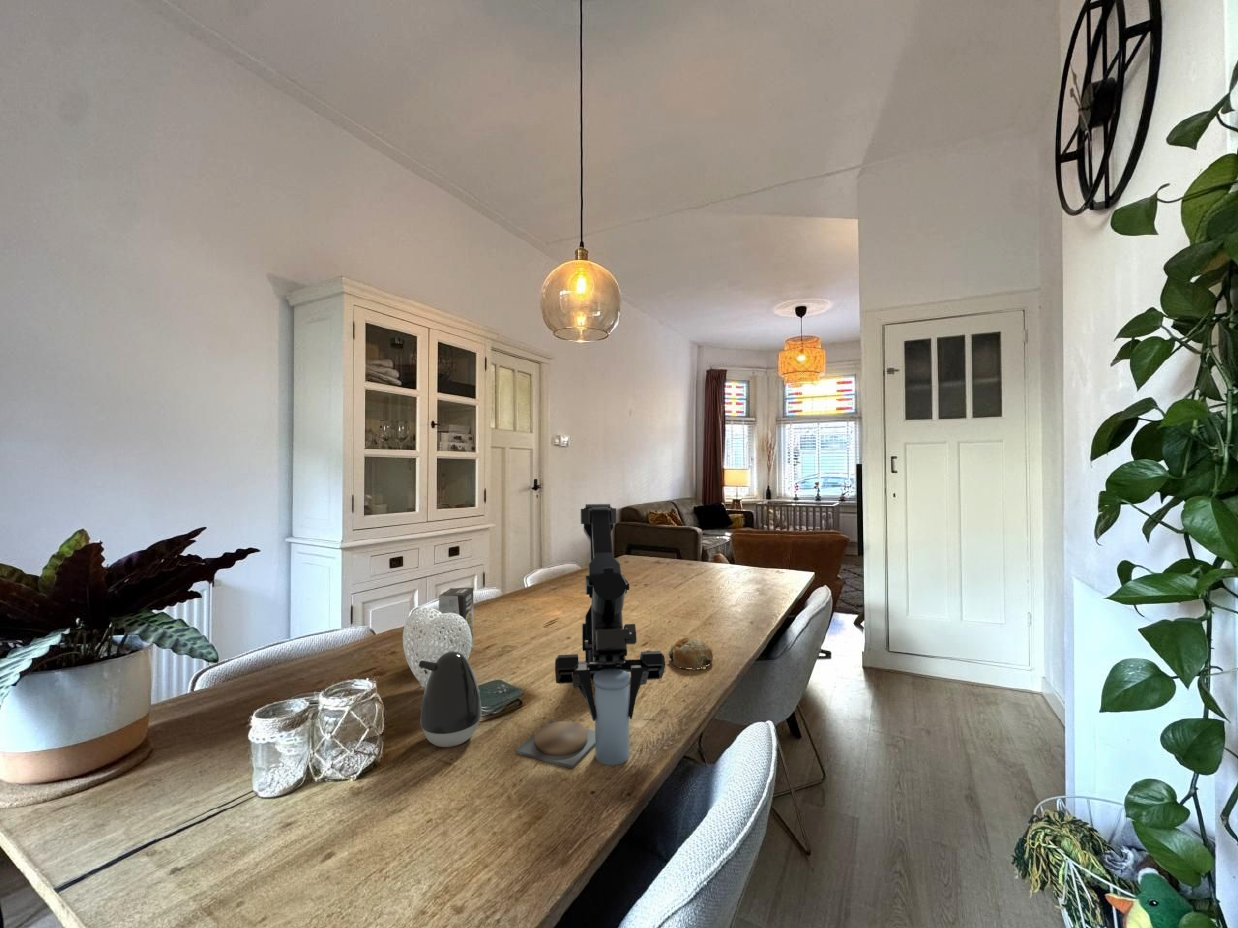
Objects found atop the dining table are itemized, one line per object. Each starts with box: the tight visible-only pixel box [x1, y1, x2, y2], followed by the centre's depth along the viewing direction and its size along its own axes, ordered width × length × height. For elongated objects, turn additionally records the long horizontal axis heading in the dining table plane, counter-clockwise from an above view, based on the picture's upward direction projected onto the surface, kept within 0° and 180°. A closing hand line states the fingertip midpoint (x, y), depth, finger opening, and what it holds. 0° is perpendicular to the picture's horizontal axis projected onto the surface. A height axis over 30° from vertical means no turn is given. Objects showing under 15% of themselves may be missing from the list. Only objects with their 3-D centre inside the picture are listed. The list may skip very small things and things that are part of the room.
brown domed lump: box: [668, 636, 714, 669], centre depth 124 cm, size 10×10×8 cm
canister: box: [593, 669, 631, 766], centre depth 84 cm, size 6×6×13 cm
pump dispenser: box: [419, 651, 483, 748], centre depth 89 cm, size 10×10×15 cm
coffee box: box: [438, 587, 475, 651], centre depth 132 cm, size 9×6×16 cm
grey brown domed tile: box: [515, 720, 595, 770], centre depth 87 cm, size 11×11×2 cm
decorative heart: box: [402, 606, 472, 689], centre depth 109 cm, size 18×11×17 cm, turn 56°
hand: (612, 719), depth 83 cm, fingers closed on canister, 6 cm apart
